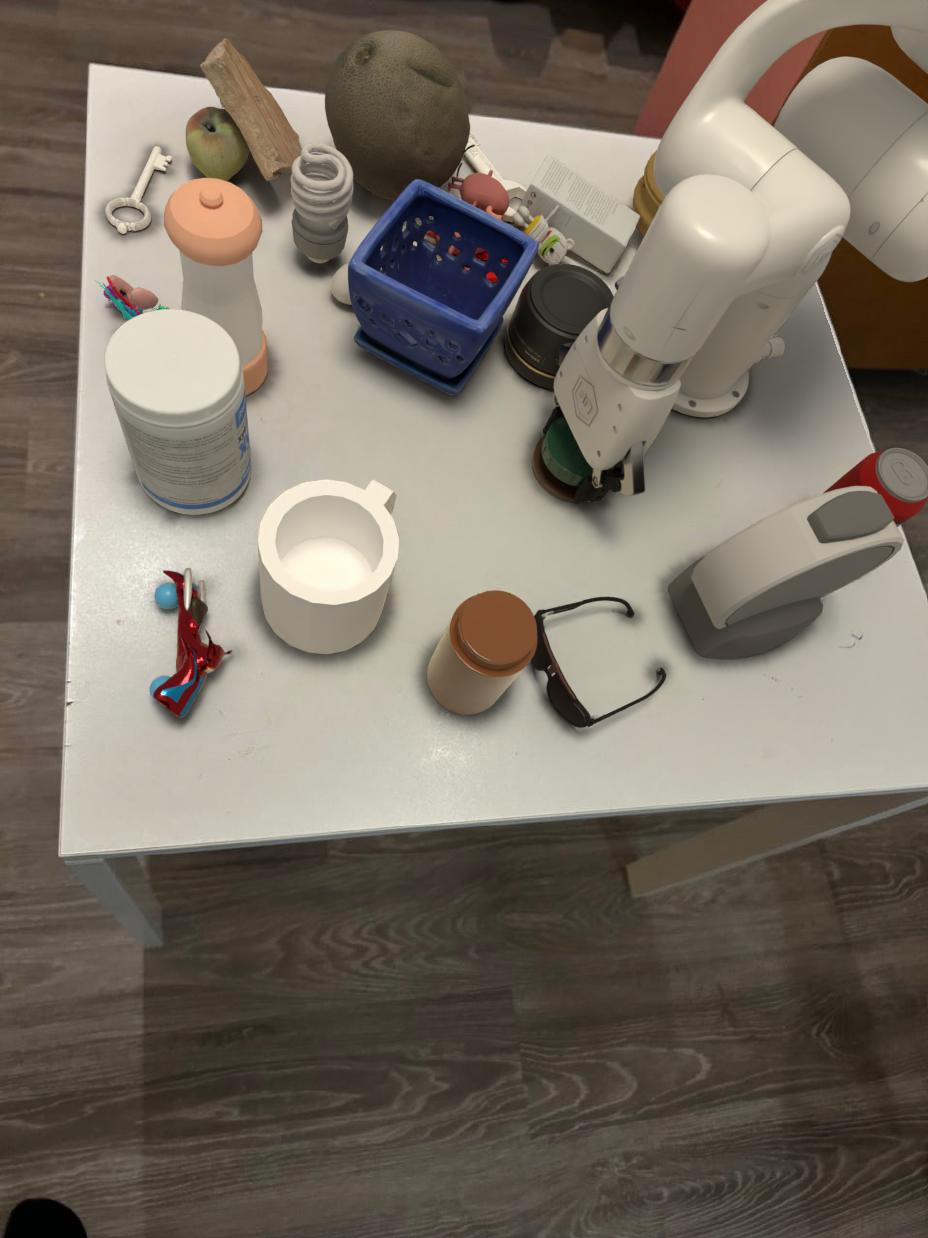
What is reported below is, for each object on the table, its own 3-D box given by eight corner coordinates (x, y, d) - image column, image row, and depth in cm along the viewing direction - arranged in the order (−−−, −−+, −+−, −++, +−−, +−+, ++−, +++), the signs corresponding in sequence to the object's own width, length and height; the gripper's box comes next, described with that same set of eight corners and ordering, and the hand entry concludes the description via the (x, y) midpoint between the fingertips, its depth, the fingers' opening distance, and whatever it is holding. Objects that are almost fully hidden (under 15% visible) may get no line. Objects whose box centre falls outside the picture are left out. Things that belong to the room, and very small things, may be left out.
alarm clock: (781, 538, 81) (908, 433, 65) (829, 631, 78) (975, 545, 62) (643, 577, 76) (742, 473, 60) (689, 677, 74) (807, 597, 57)
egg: (333, 317, 80) (348, 308, 83) (384, 293, 78) (397, 284, 81) (314, 279, 79) (330, 271, 82) (365, 252, 76) (380, 245, 79)
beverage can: (818, 575, 81) (902, 517, 70) (781, 519, 82) (857, 453, 71) (866, 553, 83) (955, 493, 72) (829, 498, 85) (910, 431, 74)
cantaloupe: (292, 134, 75) (407, 250, 84) (400, 3, 69) (511, 142, 79) (288, 92, 85) (392, 200, 94) (383, -27, 79) (483, 101, 88)
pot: (648, 281, 91) (689, 206, 82) (604, 201, 94) (639, 121, 85) (733, 266, 94) (781, 193, 85) (688, 190, 98) (730, 112, 89)
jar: (568, 241, 80) (545, 298, 87) (501, 287, 76) (482, 342, 83) (643, 308, 79) (614, 360, 86) (578, 358, 75) (553, 408, 82)
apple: (258, 148, 86) (257, 95, 81) (241, 202, 83) (238, 150, 78) (201, 132, 85) (195, 78, 80) (181, 186, 82) (174, 133, 77)
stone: (300, 175, 89) (318, 160, 88) (267, 185, 79) (287, 168, 78) (221, 54, 84) (239, 37, 83) (175, 48, 74) (195, 29, 73)
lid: (555, 493, 75) (561, 483, 74) (531, 429, 77) (536, 418, 76) (622, 480, 77) (629, 469, 76) (596, 418, 79) (603, 407, 78)
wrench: (538, 216, 91) (544, 202, 89) (500, 229, 89) (505, 214, 88) (421, 63, 96) (423, 47, 95) (382, 72, 94) (384, 56, 93)
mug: (324, 495, 73) (331, 426, 63) (423, 553, 73) (445, 492, 63) (236, 613, 67) (228, 557, 58) (343, 677, 67) (353, 630, 57)
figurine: (418, 261, 87) (481, 277, 85) (414, 236, 83) (479, 252, 82) (461, 180, 90) (521, 195, 89) (458, 153, 87) (521, 168, 86)
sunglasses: (505, 632, 71) (527, 608, 67) (612, 598, 77) (639, 574, 72) (557, 743, 69) (584, 726, 64) (664, 700, 74) (696, 681, 70)
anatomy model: (55, 283, 69) (90, 334, 75) (130, 325, 68) (159, 374, 74) (95, 240, 70) (126, 295, 77) (169, 281, 69) (194, 333, 75)
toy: (486, 126, 79) (590, 239, 85) (484, 123, 81) (586, 233, 88) (440, 184, 81) (545, 289, 88) (440, 179, 84) (542, 281, 90)
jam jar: (486, 631, 71) (523, 573, 60) (514, 701, 69) (558, 654, 58) (415, 653, 69) (440, 597, 58) (442, 725, 67) (474, 681, 56)
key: (141, 233, 78) (96, 221, 78) (143, 241, 79) (98, 229, 79) (178, 149, 83) (136, 137, 83) (179, 157, 84) (137, 145, 83)
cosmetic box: (513, 215, 88) (606, 275, 90) (529, 182, 84) (627, 246, 86) (532, 184, 91) (622, 244, 92) (548, 151, 87) (642, 214, 89)
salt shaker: (282, 380, 76) (282, 212, 59) (210, 410, 74) (188, 242, 56) (243, 323, 78) (231, 142, 60) (171, 350, 75) (137, 169, 58)
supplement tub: (271, 492, 72) (268, 387, 59) (168, 536, 68) (141, 436, 55) (218, 408, 74) (204, 289, 61) (116, 447, 71) (77, 330, 57)
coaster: (590, 425, 82) (592, 421, 81) (623, 492, 80) (625, 489, 79) (519, 440, 79) (520, 437, 79) (550, 511, 77) (552, 508, 77)
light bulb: (357, 259, 84) (368, 155, 73) (324, 291, 81) (331, 189, 70) (312, 229, 84) (316, 122, 73) (278, 260, 82) (277, 153, 71)
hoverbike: (131, 712, 59) (204, 701, 58) (140, 565, 64) (208, 553, 63) (166, 730, 64) (235, 720, 63) (172, 592, 68) (236, 580, 68)
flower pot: (397, 269, 84) (414, 168, 73) (511, 329, 84) (545, 237, 73) (334, 356, 78) (343, 261, 68) (457, 420, 79) (485, 336, 68)
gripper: (560, 258, 64) (504, 397, 80) (653, 442, 59) (573, 551, 75) (641, 246, 66) (571, 384, 83) (737, 422, 61) (642, 532, 78)
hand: (572, 463), depth 79 cm, fingers closed on lid, 6 cm apart
